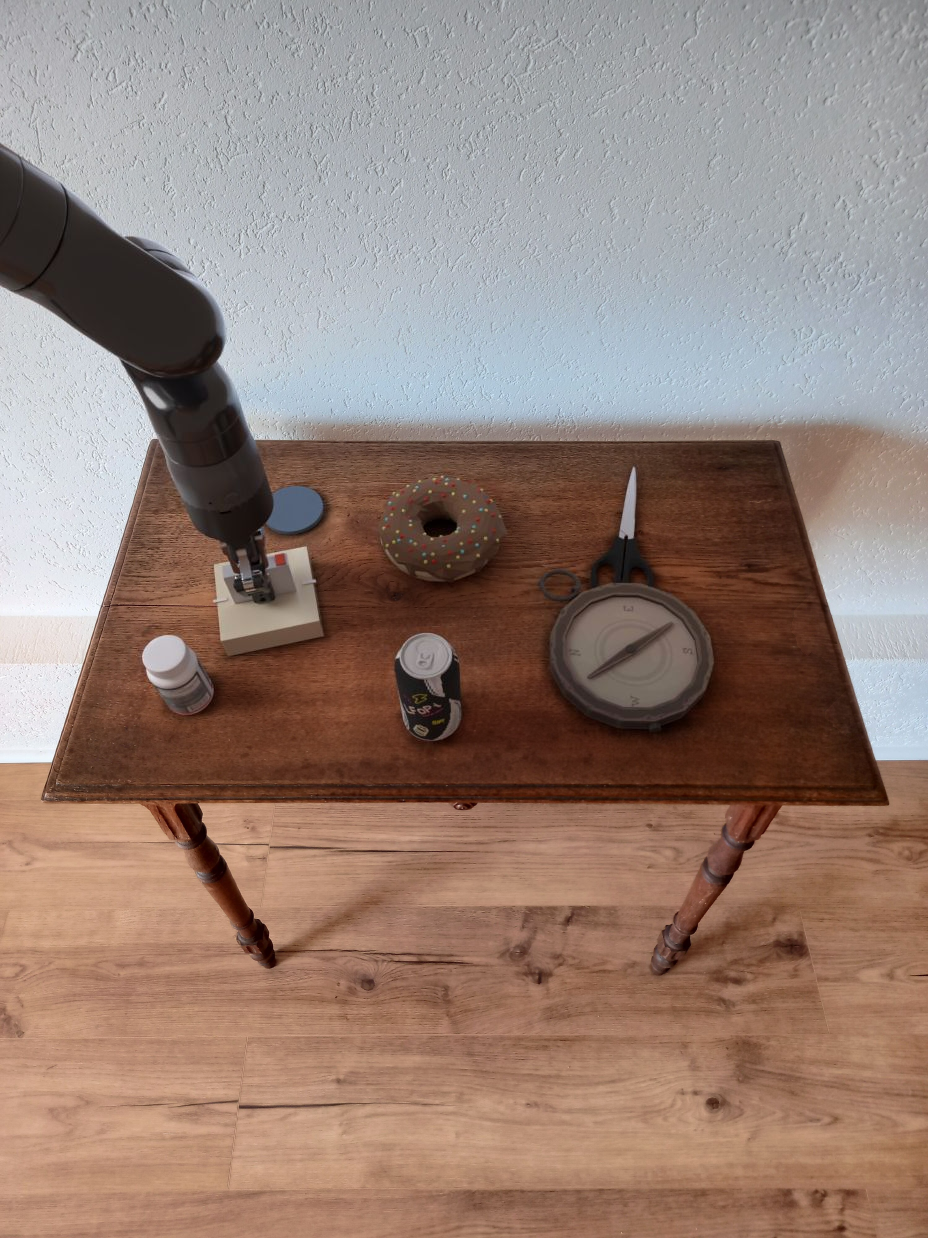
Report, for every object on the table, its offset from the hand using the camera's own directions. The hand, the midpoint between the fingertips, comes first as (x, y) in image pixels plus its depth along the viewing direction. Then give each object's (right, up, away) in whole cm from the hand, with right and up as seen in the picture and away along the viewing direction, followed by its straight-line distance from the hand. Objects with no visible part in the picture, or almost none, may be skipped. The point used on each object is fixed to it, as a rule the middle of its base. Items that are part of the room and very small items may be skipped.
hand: (263, 590), depth 84 cm
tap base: (0, -2, +3) cm, 3 cm away
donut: (+19, +6, +7) cm, 21 cm away
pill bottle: (-7, -11, -3) cm, 13 cm away
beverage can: (+18, -13, -5) cm, 22 cm away
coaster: (+1, +10, +10) cm, 14 cm away
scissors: (+39, +7, +7) cm, 40 cm away
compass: (+37, -6, -1) cm, 38 cm away
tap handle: (0, 0, 0) cm, 0 cm away
